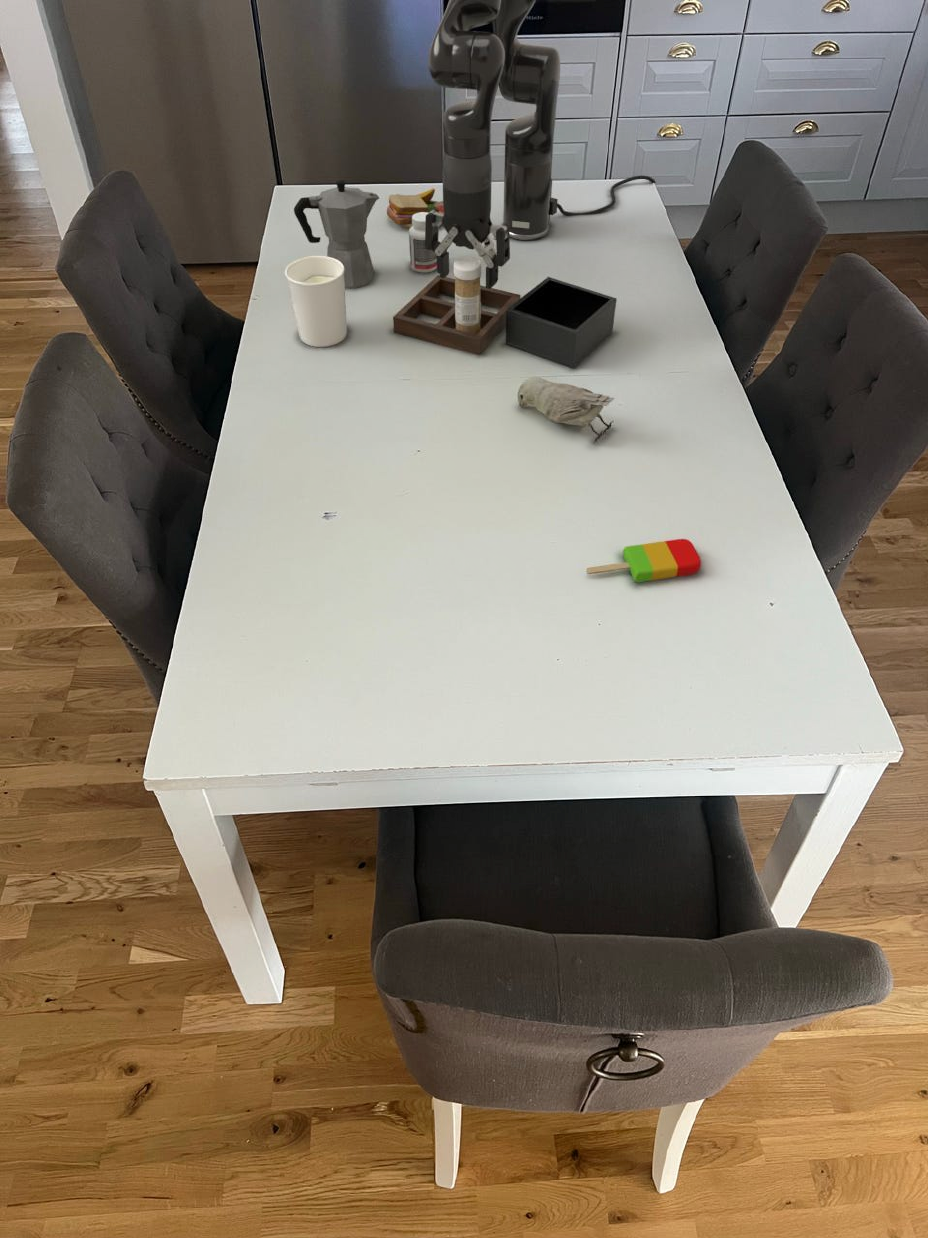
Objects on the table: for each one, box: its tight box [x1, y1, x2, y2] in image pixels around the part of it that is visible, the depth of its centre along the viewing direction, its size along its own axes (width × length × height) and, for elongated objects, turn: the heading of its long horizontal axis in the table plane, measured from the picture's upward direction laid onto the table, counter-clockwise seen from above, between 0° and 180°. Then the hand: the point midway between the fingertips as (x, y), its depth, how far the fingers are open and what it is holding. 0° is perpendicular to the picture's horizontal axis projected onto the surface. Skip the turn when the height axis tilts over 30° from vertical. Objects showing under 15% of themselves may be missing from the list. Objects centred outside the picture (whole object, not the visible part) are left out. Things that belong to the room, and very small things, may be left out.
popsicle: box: [586, 538, 702, 583], centre depth 121 cm, size 6×15×2 cm, turn 101°
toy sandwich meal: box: [386, 187, 444, 230], centre depth 190 cm, size 12×14×5 cm
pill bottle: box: [408, 212, 437, 274], centre depth 174 cm, size 5×5×10 cm
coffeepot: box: [293, 179, 380, 289], centre depth 169 cm, size 15×9×18 cm, turn 103°
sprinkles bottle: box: [453, 257, 482, 335], centre depth 156 cm, size 5×5×13 cm
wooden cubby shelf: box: [392, 274, 522, 356], centre depth 163 cm, size 17×17×3 cm
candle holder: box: [284, 255, 348, 348], centre depth 157 cm, size 10×10×12 cm
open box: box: [504, 276, 618, 370], centre depth 158 cm, size 14×14×7 cm
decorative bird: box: [517, 376, 615, 444], centre depth 141 cm, size 5×16×7 cm, turn 55°
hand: (467, 281), depth 153 cm, fingers open, 8 cm apart
